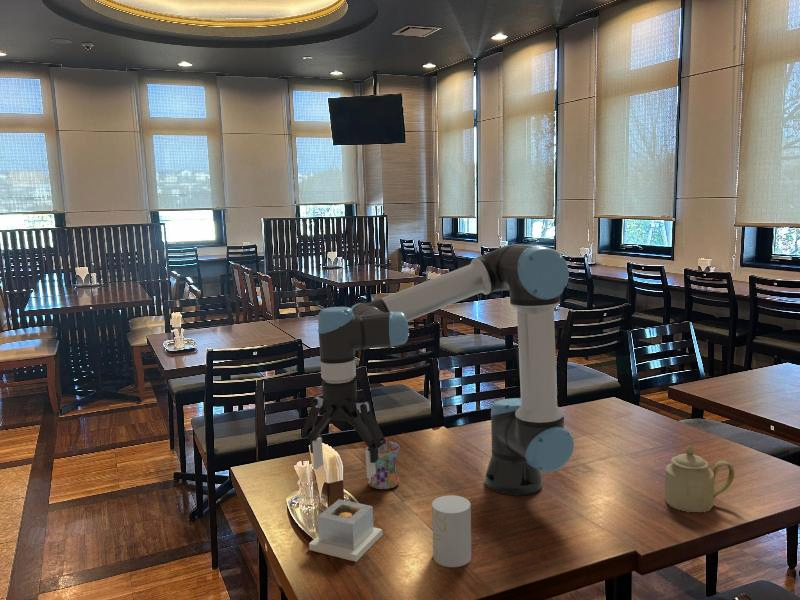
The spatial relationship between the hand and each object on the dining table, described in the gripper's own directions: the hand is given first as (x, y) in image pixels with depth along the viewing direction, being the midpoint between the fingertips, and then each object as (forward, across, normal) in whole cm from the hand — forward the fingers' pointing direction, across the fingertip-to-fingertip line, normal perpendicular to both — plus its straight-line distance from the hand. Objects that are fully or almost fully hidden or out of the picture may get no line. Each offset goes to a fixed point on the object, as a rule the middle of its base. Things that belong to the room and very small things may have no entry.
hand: (344, 471), depth 141 cm
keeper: (+17, 0, 0) cm, 17 cm away
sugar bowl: (+18, -70, -51) cm, 88 cm away
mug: (+17, +7, -31) cm, 36 cm away
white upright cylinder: (+17, -24, -4) cm, 30 cm away
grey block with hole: (+15, 0, 0) cm, 15 cm away
